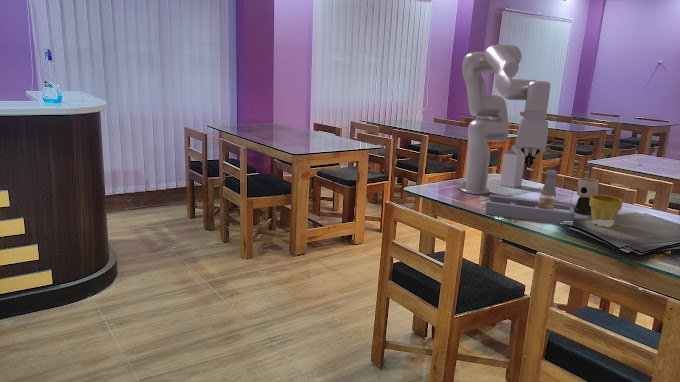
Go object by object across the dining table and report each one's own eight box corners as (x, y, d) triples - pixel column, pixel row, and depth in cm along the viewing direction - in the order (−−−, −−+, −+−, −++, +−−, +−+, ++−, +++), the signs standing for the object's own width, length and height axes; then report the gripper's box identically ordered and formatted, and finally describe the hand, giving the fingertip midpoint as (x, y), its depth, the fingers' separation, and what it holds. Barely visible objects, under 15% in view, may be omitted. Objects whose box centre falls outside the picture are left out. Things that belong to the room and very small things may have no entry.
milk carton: (499, 185, 236) (504, 145, 231) (507, 183, 241) (512, 143, 236) (513, 188, 231) (519, 147, 226) (521, 186, 236) (526, 146, 231)
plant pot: (579, 220, 185) (583, 194, 182) (601, 219, 188) (606, 193, 186) (601, 229, 175) (606, 202, 173) (624, 228, 179) (629, 201, 176)
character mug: (566, 208, 201) (571, 176, 197) (582, 208, 202) (587, 176, 199) (584, 216, 190) (590, 183, 187) (601, 216, 192) (607, 183, 188)
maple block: (537, 210, 184) (539, 197, 183) (537, 207, 189) (539, 194, 188) (552, 212, 183) (554, 199, 181) (552, 209, 187) (554, 196, 186)
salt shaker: (556, 203, 208) (560, 172, 205) (541, 201, 209) (546, 171, 206) (553, 199, 214) (557, 169, 210) (539, 198, 215) (543, 168, 212)
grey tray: (485, 214, 188) (486, 202, 187) (488, 205, 199) (489, 194, 198) (572, 226, 177) (574, 214, 176) (570, 216, 189) (572, 205, 188)
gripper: (512, 115, 179) (506, 165, 184) (557, 118, 174) (550, 170, 179) (513, 113, 186) (507, 162, 191) (557, 117, 181) (549, 167, 185)
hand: (528, 166), depth 185 cm, fingers closed
